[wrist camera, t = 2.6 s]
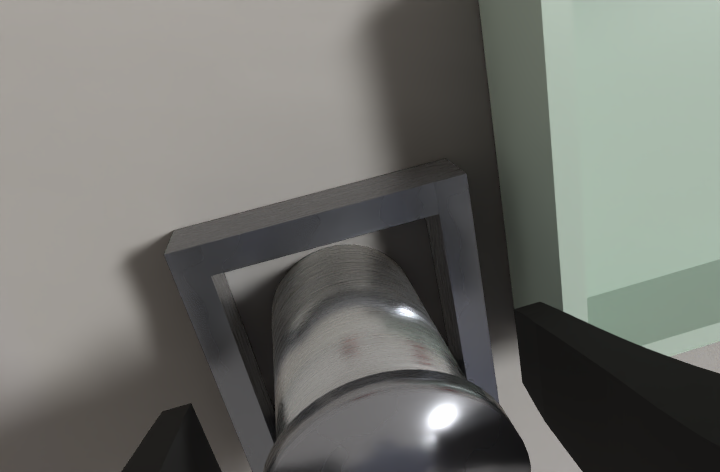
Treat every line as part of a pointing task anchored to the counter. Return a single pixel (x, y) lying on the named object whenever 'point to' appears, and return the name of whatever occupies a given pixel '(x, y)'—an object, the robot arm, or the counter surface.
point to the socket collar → (317, 228)
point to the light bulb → (374, 378)
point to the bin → (611, 161)
